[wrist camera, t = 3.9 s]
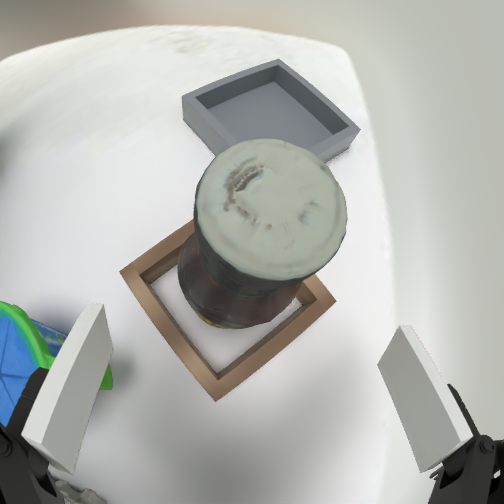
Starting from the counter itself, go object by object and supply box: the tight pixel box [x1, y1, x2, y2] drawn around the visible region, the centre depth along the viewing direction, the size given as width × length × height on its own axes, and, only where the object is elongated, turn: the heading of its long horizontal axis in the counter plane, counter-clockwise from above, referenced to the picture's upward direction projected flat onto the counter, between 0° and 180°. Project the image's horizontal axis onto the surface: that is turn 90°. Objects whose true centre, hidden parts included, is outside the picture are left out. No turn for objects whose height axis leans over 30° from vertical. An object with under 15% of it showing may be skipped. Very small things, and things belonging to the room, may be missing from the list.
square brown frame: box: [120, 219, 336, 402], centre depth 24 cm, size 12×12×4 cm
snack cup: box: [0, 301, 113, 427], centre depth 17 cm, size 16×10×10 cm
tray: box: [182, 59, 361, 163], centre depth 30 cm, size 14×14×4 cm
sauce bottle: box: [178, 139, 347, 329], centre depth 17 cm, size 6×6×20 cm
